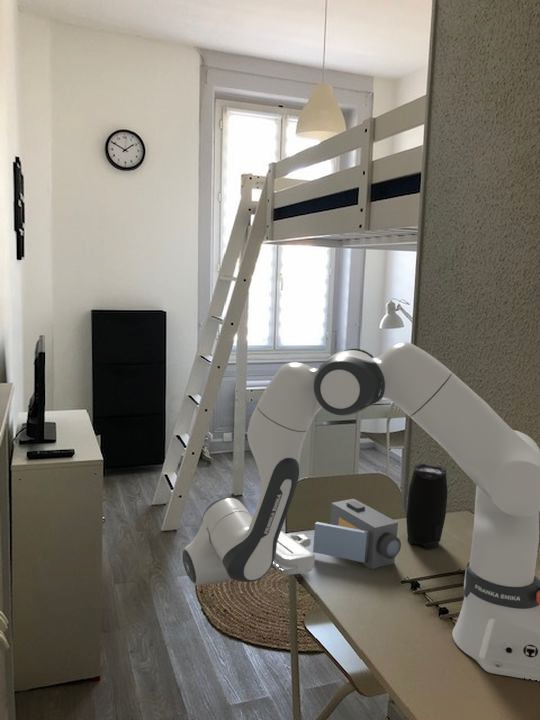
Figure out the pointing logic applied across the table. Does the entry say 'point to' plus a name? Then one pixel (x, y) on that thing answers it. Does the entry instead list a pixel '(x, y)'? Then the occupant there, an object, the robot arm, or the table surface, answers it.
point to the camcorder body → (368, 519)
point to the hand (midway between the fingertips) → (306, 539)
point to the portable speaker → (426, 505)
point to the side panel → (341, 542)
